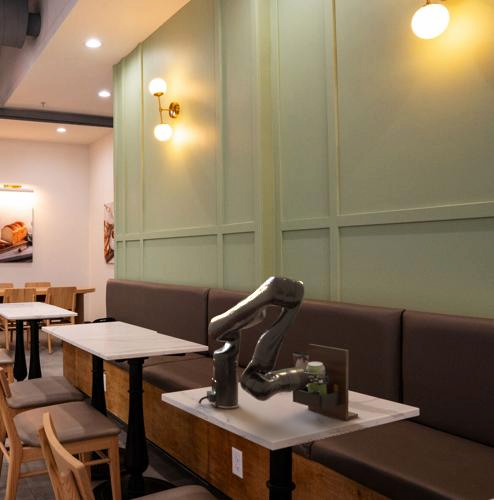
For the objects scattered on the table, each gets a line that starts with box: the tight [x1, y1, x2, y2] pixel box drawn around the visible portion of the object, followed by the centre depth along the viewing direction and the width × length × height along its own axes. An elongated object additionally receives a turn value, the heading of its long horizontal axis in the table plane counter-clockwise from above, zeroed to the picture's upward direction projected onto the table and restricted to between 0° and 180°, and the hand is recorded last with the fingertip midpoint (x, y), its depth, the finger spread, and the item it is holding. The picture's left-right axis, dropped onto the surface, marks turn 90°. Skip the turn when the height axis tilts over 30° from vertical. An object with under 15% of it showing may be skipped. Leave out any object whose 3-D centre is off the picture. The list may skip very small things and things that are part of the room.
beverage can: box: [306, 362, 327, 395], centre depth 178 cm, size 6×7×12 cm
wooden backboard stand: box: [292, 343, 359, 422], centre depth 180 cm, size 19×15×24 cm
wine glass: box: [292, 351, 308, 370], centre depth 218 cm, size 8×8×15 cm
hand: (320, 374), depth 180 cm, fingers closed on beverage can, 6 cm apart
